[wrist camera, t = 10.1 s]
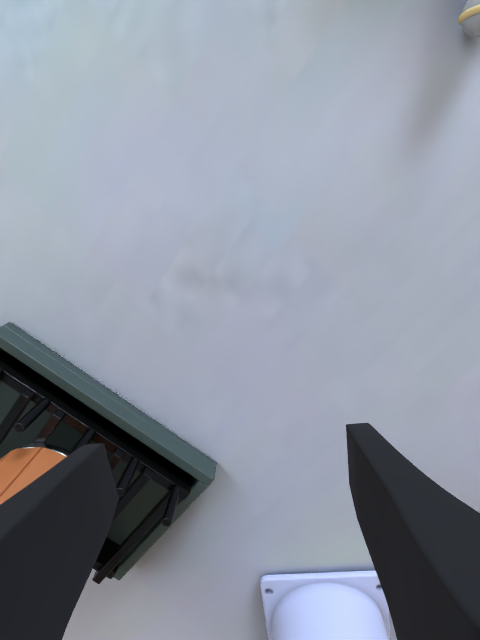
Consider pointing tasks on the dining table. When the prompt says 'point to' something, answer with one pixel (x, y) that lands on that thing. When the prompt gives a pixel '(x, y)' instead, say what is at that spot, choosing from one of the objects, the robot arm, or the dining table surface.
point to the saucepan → (26, 466)
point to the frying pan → (471, 18)
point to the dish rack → (94, 428)
